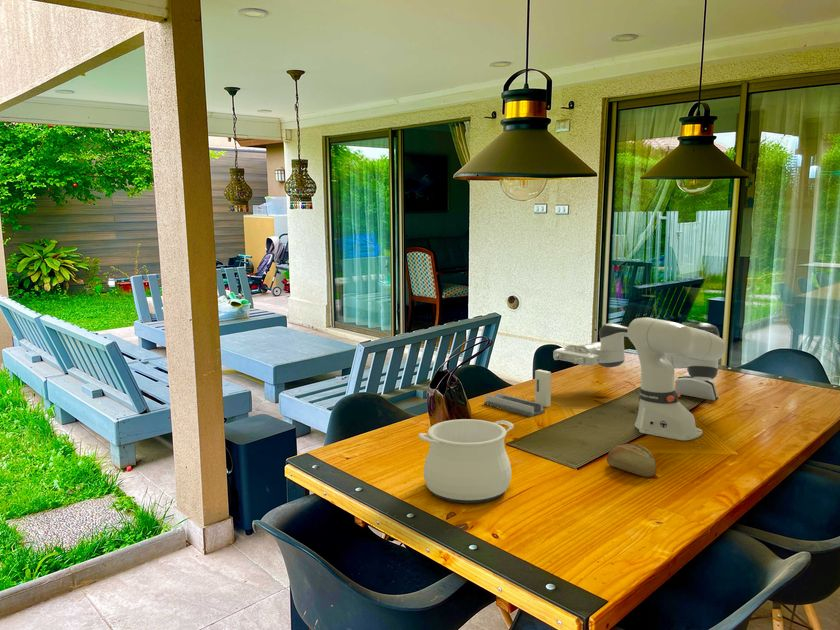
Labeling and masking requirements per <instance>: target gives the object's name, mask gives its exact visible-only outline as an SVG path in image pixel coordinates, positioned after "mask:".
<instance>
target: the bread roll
mask: <svg viewBox="0 0 840 630" xmlns="http://www.w3.org/2000/svg"><path fill="white" fill-rule="evenodd" d="M606 462H607V464H608V465H609V466H611V467H614V468H617V469H620V470H623V471H624V472H625V471H626V472H629V473H632V474H634V475H637V476H640V477H644V478H651V477H653V476H655V475H656V472H657V464H656V461H655V458H654V455H653V454H652V452H651V451H650V450H649V449H648V448H647V447H645V446H643V445H641V444H638V443H635V442H634V443H633V442H624V443H621V444H619V445H617V446H615V447H614V448H612V449H610V451H609V452H608V454H607V456H606Z"/></svg>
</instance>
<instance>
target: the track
mask: <svg viewBox="0 0 840 630" xmlns="http://www.w3.org/2000/svg"><path fill="white" fill-rule="evenodd" d="M485 397H486V398H485V401H483V405H485V404H488V405H491V406H490V407H492V406H494V407H493V408H495V407H498V408H497V409H499V408H501V409H500V410H503V409H504V411H506V410H508V412H510V411H511V413H513V412H514V414H518V415H521V416H525V417H529V418H531V417H534V416H537V415H541V414H543V413H546V410H545V409H544V406H543V404H540V403H536V402H535V401H531V400H529V399H523V398H520V397H516V396H513V395H508V394H503V393H500V392H495V393H494V396H493V395H490V394H487V395H486V396H485ZM488 405H487V406H488Z"/></svg>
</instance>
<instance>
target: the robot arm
mask: <svg viewBox="0 0 840 630" xmlns="http://www.w3.org/2000/svg"><path fill="white" fill-rule="evenodd" d="M598 335H599V339H600V341H596V342H590V343H586V344H579V345H577V344H576V345H575V344H573V345H572V344H570V345H569V344H568V345H566V346H565V347H560V348H556V349H554V350H553V351H552V352H553V354H552V355H553V359H554V361H559V360H560V361H564V362H569V363H572V364H575V365H576V364H577V365H579V366H582V367H584V366H592V367H593V366H595V365H600V366H601V367H602V368H616V367H619V366H621V365H623V363H624V362H625V361H626V355H625V337H626V338H628V340H630V342H631V343H632V345H633V346H634V347H635V351H636V353H637V357H638V359H639V364H640V387H639V391H638V400H639V403H638V404H639V405H638V411H637V417H636V419H635V423H634V427H635V428H636V429H637V430H638V431H639V433H640V434H645V435H651V436H656V437H662V438H665V439H666V438H667V439H671V440H677V441H691V440H695V439H697V438H699V437H700V436H702V435H703V430H702V429H701V428H698V427H696V420H695V416H694V414H693V413H692V412H691V411H689V410H688V409H687V407H685V406H684V404H682V403H681V402H680V401H679V397H681V395H682V394H681V393H679V394H677V393H676V392H675V388H674V387H675V369H676V370H677V369H686V370H687V373H688V375H690V376H691V377H692V378H694V379H697V380H700V381H707V380H714V379H715V378H716V377H717V374H718V371H719V369H718V366H719V361H720V359H722V358H723V357H724V356H725V354H726V351H727V345H726V342H725V340H724V339H723V338H721V337H720V331H719V329H718V327H717V326H716V325H714V324H711V323H706V322H702V323H696V324H694V325H692V326H687V325H686V324H682V323H680V322H674V321H671V320H664V319H660V318H659V319H658V318H654V317H653V318H652V317H648V316H647V317H637V318H634V319H633V320H632V321H631V322H630V323H629V325H628V326H625V325H621V324H617V323H613V322H612V323H610V322H609V323H604V324H603V325H602V326H601V327H600V328H599V330H598Z"/></svg>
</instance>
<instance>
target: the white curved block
mask: <svg viewBox="0 0 840 630" xmlns="http://www.w3.org/2000/svg"><path fill="white" fill-rule="evenodd" d="M674 387H675V388H674V390H675V392H676V393H677V394H679V393H681V394H680V395H683V396H689V397H693V398H699V399H705V400H710V401H715V400H716V399H719V394H718V393H717V388H716V385H715V382H714V381H713V380H712V379H710V380H707V381H700V380H697V379H694V378H692V377H691V376H690V375H689V374H687V375H686V374H684V375H680V376H678V377H677V378H676V379H675V380H674Z"/></svg>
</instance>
